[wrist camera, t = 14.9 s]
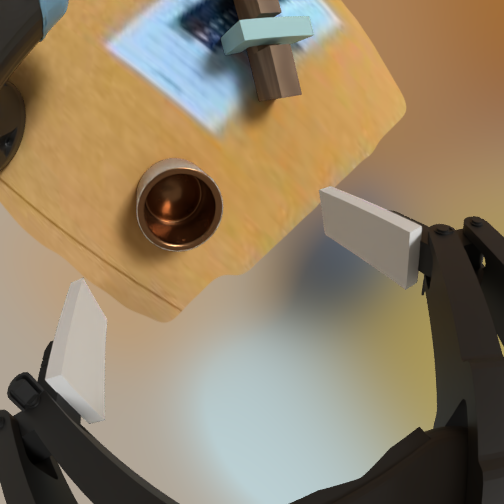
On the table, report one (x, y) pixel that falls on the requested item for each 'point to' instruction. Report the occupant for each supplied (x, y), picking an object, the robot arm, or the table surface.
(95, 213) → the table surface
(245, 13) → the walnut fin
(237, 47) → the light blue piece
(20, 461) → the robot arm
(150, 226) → the planter
